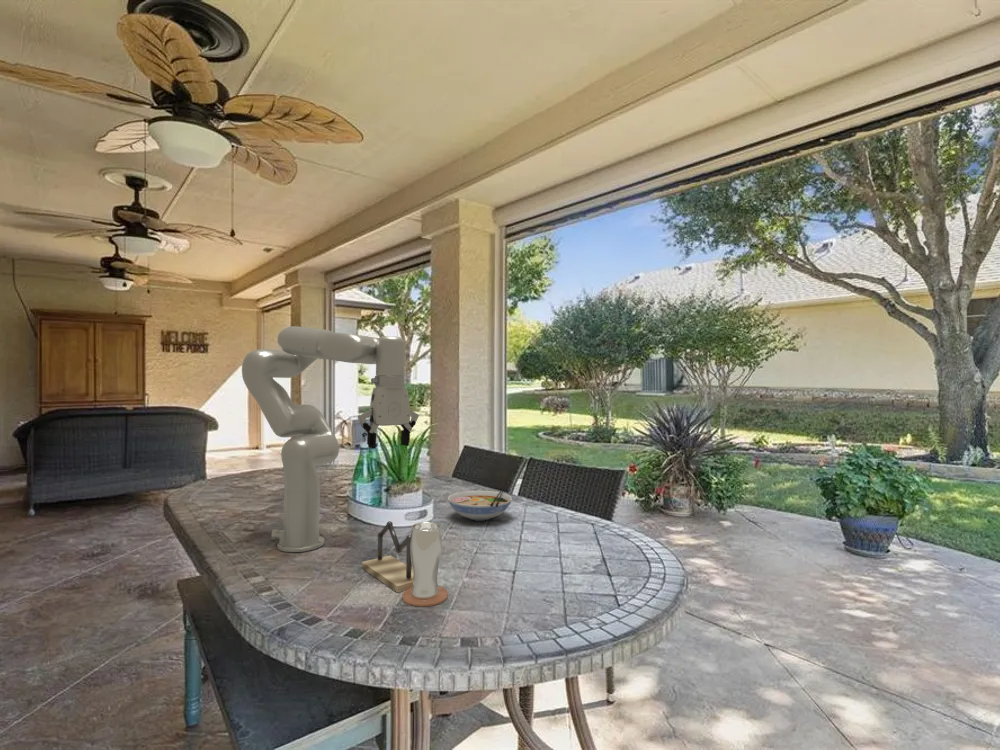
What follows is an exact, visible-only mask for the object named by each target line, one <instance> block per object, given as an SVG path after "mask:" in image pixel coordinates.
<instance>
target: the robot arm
mask: <svg viewBox="0 0 1000 750" xmlns="http://www.w3.org/2000/svg"><path fill="white" fill-rule="evenodd" d="M277 344H278V346H279V348H280V350H279V349H270V348H259V349H255V350H251V351H250V352H248V353H247V354H246V355H245V356H244V358H243V361H242V365H241V375H242V376H241V377H242V379H243V382H244V384H245V386H246V389H247V390H248V392H249V393H250V394H251V395H252V397H253V398H254V400H255V401H256V403H257V404H258V406H259V408H260V410H261V413H262V414H263V416H264V418H265V419H266V422H267V423H268V424H269V426H270V429H271V430H272V432H273V433H274V434H275V435H276V436H277V437H280V438H289V439H288V440H286V441H285V442H284V444H283V446H282V449H281V450H280V451H281V454H280V455H281V462H282V468H283V469H282V470H283V474H284V476H283V477H284V490H283V491H284V493H283V494H284V495H283V496H284V498H283V499H284V500H283V501H284V503H283V529H276V528H273V529H272V530H271V536H270V538H271V539H279V541H278V542H277V546H276V547H277V549H278V550H279V551H281V552H284V553H300V552H301V553H303V552H309V551H313V550H316V549H319V548H321V547H322V546H324V544H325V538H324V536H321V535H320V507H321V505H320V501H321V492H320V491H321V483H320V482H321V481H320V478H319V475H318V472H317V470H316V467H318V466H324V465H327V464H330V463H333V462H335V460H336V459H337V458H338V456H339V452H340V446H339V445H340V444H339V442H338V439H337V438H336V435H335V434H334V431H333V430H332V428H331V427H330V425H329V423H328V421H327V420H326V418H325V417H324V414H323V413H322V412H321V411H320V410H319V409H318V408H317V407H315V406H314V405H312V404H297V403H294V401H293V400H292V399H291V397H290V396H289V393H288V392H287V390H286V389H285V388H284V387H283V385H281V384H280V383H279V382H277V381H276V380H275V379H274V378H276V379H277V378H279V379H285V378H286V379H290V378H295V377H297V376H299V375H300V374H302V373H303V372H304V371H305V370H306V369H307V368H308V367H309V366H311V365H312V364H313V363H314V362H315V361H316V360H325V361H326V360H328V361H336V362H341V363H342V362H343V363H350V364H363V365H365V364H366V365H375V376H374V377H372V378H370V382H371V384H374V386H375V387H373V388H372V392H371V397H370V403H369V405H370V406H369V409H368V410H367V411H365V412H363V413H361V414H360V415H358V416H357V420H358V423H360V427H362V429H364V430H365V432H366V434H367V437H366V442H367V443H366V444H367V446H368V447H367V448H370V449H373V450H374V449H376V448H377V433H376V431H377V429H378V427H380V426H381V427H382V426H383V427H385V426H401V428H402V430H401V433H400V438H401V439H400V444H401V445H402V446H405V447H408V446H410V439H411V431H412V429H413V428H414V426H415V425H416V423H417V420H419V419H418V418H419V415H420V414H419V413H416V412H415V411H413V410H411V406H410V397H409V391H408V388H407V387H405V363H406V362H405V355H406V352H405V351H406V342H405V339H404V338H402V337H400V336H391V335H390V336H388V335H386V336H385V335H384V336H380V337H374V336H373V337H372V336H369V335H368V336H367V335H361V334H360V335H359V334H353V333H342V332H335V331H331V330H329V329H322V328H314V327H306V326H297V325H295V326H293V325H292V326H287V327H285V328H283V329H282V330H281V331H280V332H279V333H278V335H277ZM367 418H369V424H368V422H367Z"/></svg>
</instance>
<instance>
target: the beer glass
mask: <svg viewBox="0 0 1000 750" xmlns="http://www.w3.org/2000/svg"><path fill="white" fill-rule="evenodd" d="M410 535H411V538H410V555H411V563H412V567H411V568H412V569H413V585H412V590H411V595H412V596H413V597H414V598H417V599H431V598H434V597H436V596H437V595H438V593H439V590H438V586H439V585H438V572H439V566H440V562H441V561H440V560H441V556H442V555H441V554H442V544H443V543H442V542H443V541H442V525H441V524H439V523H438V522H431V521H430V522H429V521H426V522H425V521H424V522H423V521H422V522H418V523H414V524H412V525H411V530H410Z"/></svg>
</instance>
